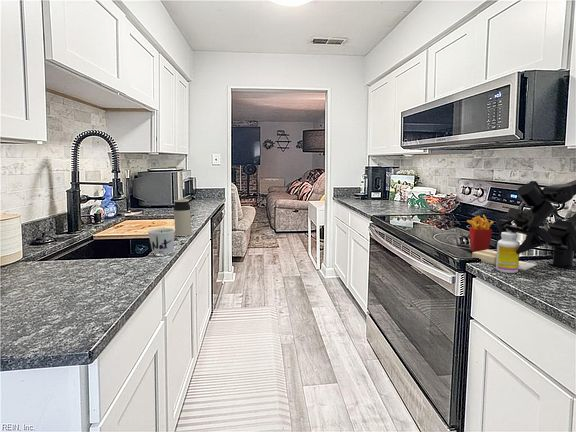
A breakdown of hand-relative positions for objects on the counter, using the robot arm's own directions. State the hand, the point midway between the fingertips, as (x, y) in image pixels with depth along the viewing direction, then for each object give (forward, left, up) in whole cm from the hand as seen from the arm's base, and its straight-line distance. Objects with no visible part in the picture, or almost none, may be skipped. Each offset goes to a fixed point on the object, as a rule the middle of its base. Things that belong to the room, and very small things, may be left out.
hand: (506, 250), depth 134 cm
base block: (-9, -11, -7) cm, 16 cm away
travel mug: (+77, -121, -7) cm, 143 cm away
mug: (+94, -88, -7) cm, 129 cm away
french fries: (-15, -22, -7) cm, 27 cm away
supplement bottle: (-1, 0, -7) cm, 7 cm away
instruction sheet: (-11, -2, -7) cm, 13 cm away
